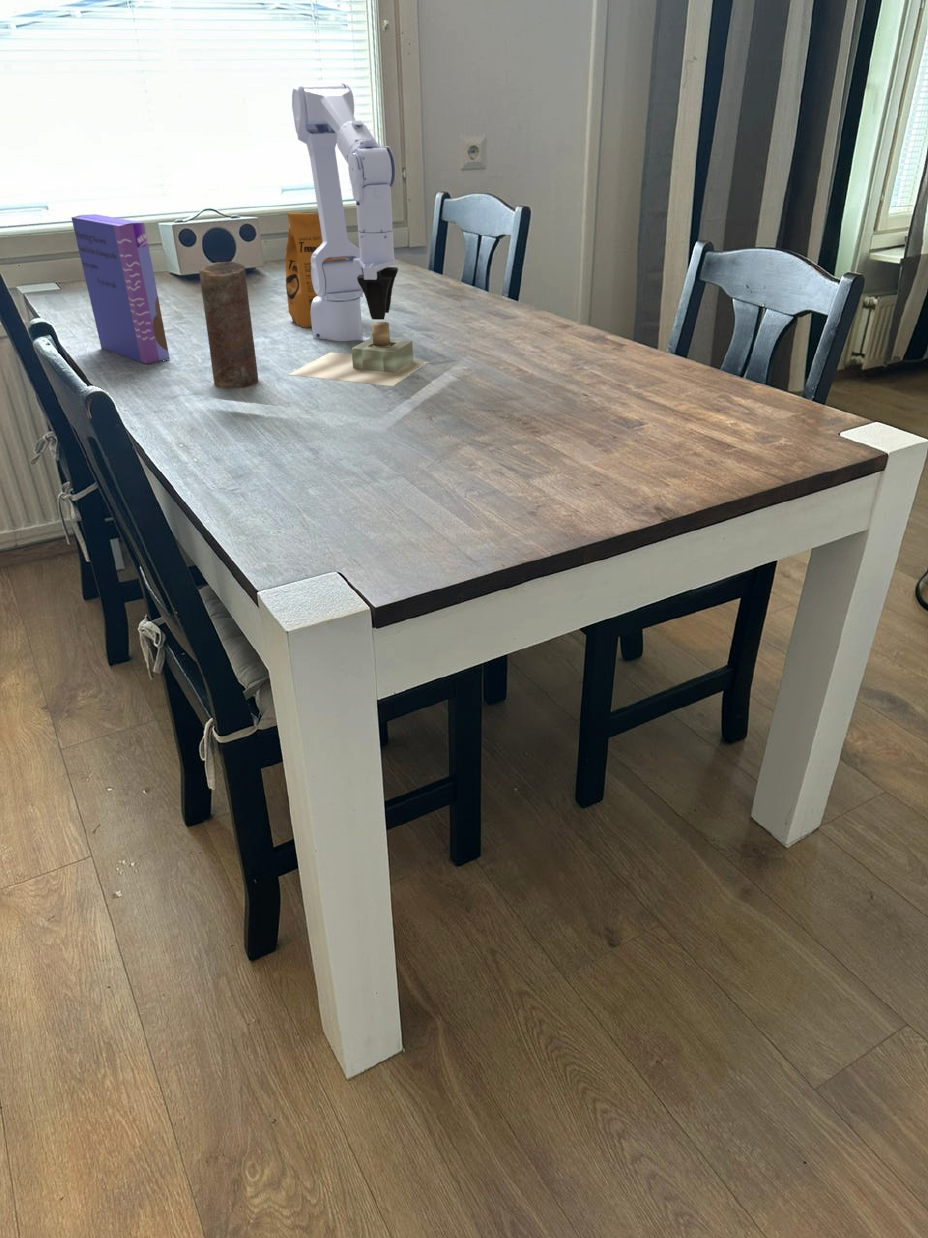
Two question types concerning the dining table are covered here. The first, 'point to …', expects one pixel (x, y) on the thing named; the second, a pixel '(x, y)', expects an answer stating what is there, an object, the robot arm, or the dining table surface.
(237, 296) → the brown faceted post
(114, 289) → the cereal box
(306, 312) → the coffee package
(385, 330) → the peg
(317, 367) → the board
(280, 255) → the dining table surface
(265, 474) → the dining table surface
